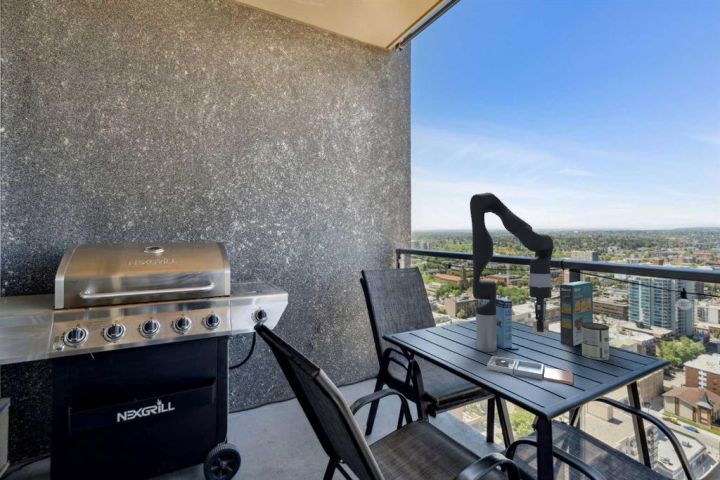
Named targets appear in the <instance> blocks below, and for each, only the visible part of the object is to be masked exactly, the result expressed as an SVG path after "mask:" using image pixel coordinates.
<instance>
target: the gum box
mask: <svg viewBox="0 0 720 480" xmlns="http://www.w3.org/2000/svg"><path fill="white" fill-rule="evenodd" d="M480 301H481V302H480V303H481V305H484V304H486V303H488V302H489V300H484V299H480ZM481 305H480V306H481ZM496 324H497V346H499V347H501V348H503V349H507V348H509V349H510V348H512V347H513V301H512V300H510V299H505V298H502V297H499V296H498V297H497V296H496Z"/></svg>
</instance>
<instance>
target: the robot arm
mask: <svg viewBox="0 0 720 480" xmlns="http://www.w3.org/2000/svg"><path fill="white" fill-rule="evenodd" d="M469 212H470V219H471V233H472V264H473V265H472V266H473V267H472V269H473V270H472V272H473V273H472V296H473V298H474V299H476V300H481V299H484V300H489V302H488V303H486V304H484V305H478V306H477V307H476V309H475V329H476V330H475V332H476V335H475V336H476V338H475V341H476V343H475V344H476V345H475V347H476V350H478V351H480V352H484V353H494V352H497V351H498V349H497V346H498V345H497V324H496V297H497V290H498V289H497V283H496V281H495V280H486V279H485V280H483V279H480V278H481V276H482V273H483V272H484V270H485V268H486V267H487V265H488V264H489V263H490V262H491V260H492V258H493V256H494V239H493V237H492V235H491V233H490V232H489V231H488V229H487V227H486V221H485V220H486V219H485V214H489V213H492V214H494V215H496V216H497V217H498V218H499V219H500V221H501V223H502V226H503V227H504V228H505V229H506V231H508V232H509V233H510V234H512V235H513V236H514V237H515V238H517V239H518V240H519V241H520V244H522V245H523V246H524V247H525V248H526V249H527V250H528V251H530V252H534V253H535V254H534V257H533V258H532V259H530V261H529V280H528V281H529V282H528V283H529V284H528V285H529V297H530V298H535V299H536V301H534V302H533V303H534V305H533V306H534V314H535V316H534V317H535V318H534V319H536V320H537V330H538V331H543V330H544V323H543V321H544V320H546V314H547V305H548V304H547V301H546V300H545V299H551V298H552V276H551V262H552V261H551V260H552V256H553V251H554V241H553V238H552V237H551V236H550V235H548V234H545V233H544V234H543V233H537V232H535V231H534V230H533V227H532V226H531V224H529V223H528V222H526V221H525V220H524V219H522V217H519V216H517V215H516V214H515V213H514V212H513V211H512V210H511V209H510V208H509V207H507V205H506V204H504V202H503V201H501V199H500V198H498V196H496V195H495V194H494V193H492V192H482V193H475V194H473V195H472V196H471V198H470V201H469Z"/></svg>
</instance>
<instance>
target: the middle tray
mask: <svg viewBox="0 0 720 480" xmlns="http://www.w3.org/2000/svg"><path fill="white" fill-rule="evenodd" d="M516 360H517V363H516V365H515V368H514V373H513V375H514V376H520V377H525V378H530V379H535V380H541V381H542V380H543V378H544V371H545V367H544V363H542V362H541V363H539V362H535V361H534V362H533V361H528V360H521V359H516Z"/></svg>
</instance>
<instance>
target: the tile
mask: <svg viewBox="0 0 720 480" xmlns="http://www.w3.org/2000/svg"><path fill="white" fill-rule="evenodd" d="M573 376H574V375H573V372H572V371H568V370H563V369H556V368H549V367H544V372H543V380H544V381H549V382H555V383H560V384H567V385H571V386H573V385H574V378H573Z"/></svg>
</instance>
